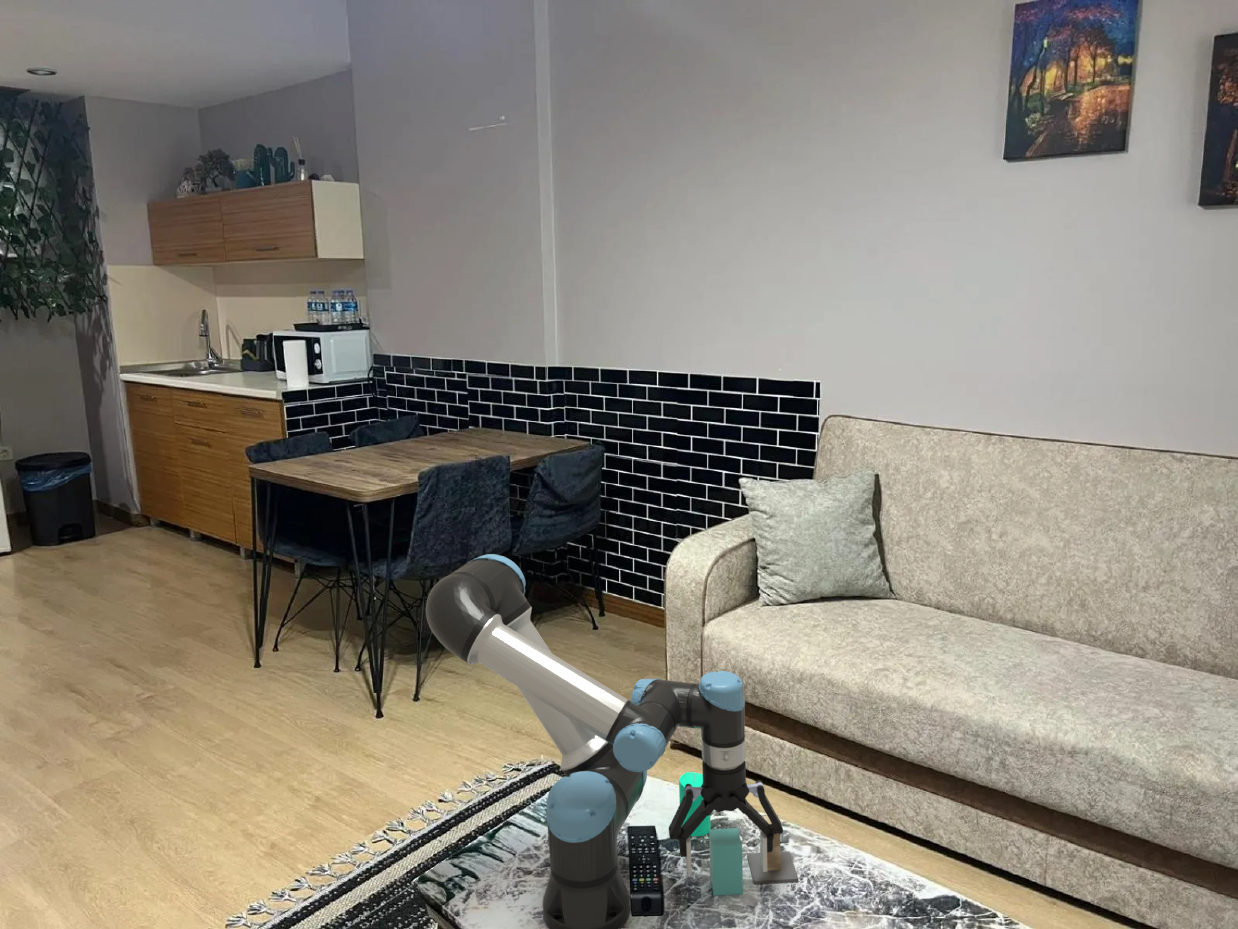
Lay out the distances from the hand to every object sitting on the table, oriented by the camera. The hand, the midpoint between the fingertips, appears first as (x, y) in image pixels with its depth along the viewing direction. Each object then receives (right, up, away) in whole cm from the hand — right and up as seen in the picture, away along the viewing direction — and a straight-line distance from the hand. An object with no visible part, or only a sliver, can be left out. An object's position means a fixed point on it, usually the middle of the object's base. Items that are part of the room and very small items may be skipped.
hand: (726, 869), depth 164 cm
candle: (-4, 0, +18) cm, 19 cm away
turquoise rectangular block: (0, -3, +1) cm, 3 cm away
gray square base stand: (+9, -2, +5) cm, 10 cm away
